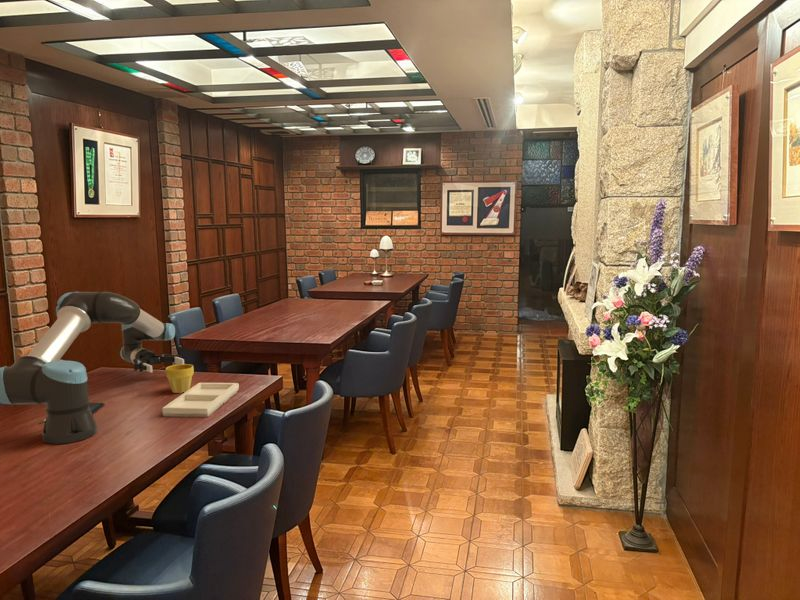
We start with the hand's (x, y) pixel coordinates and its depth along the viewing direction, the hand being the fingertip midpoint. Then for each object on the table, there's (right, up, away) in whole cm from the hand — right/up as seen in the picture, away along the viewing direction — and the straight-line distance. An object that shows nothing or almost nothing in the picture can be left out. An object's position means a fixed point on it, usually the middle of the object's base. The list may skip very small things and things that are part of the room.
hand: (167, 365), depth 232 cm
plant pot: (+7, -10, -5) cm, 13 cm away
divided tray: (+21, -11, -20) cm, 32 cm away
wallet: (-20, -14, -31) cm, 40 cm away
